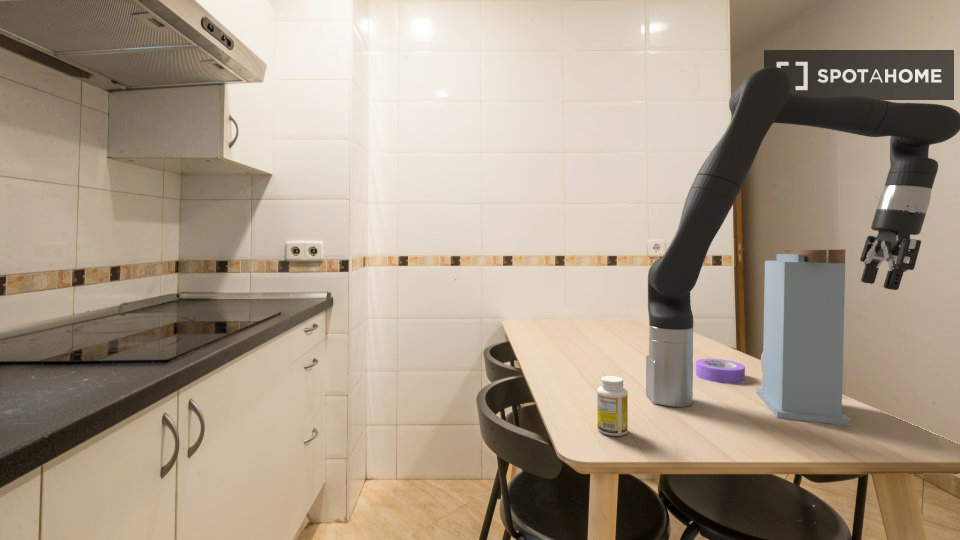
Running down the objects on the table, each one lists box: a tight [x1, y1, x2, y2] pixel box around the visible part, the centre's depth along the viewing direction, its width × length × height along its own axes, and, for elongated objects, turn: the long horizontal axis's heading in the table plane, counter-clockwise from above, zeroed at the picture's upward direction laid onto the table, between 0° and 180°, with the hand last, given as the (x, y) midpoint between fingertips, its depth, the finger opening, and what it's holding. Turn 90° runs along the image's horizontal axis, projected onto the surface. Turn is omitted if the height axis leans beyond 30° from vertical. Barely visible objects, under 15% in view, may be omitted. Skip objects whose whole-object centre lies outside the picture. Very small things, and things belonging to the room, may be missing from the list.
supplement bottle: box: [596, 375, 629, 437], centre depth 81 cm, size 6×6×10 cm
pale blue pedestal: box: [756, 253, 851, 426], centre depth 92 cm, size 12×16×34 cm
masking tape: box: [695, 358, 746, 384], centre depth 116 cm, size 12×12×4 cm
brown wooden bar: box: [783, 249, 846, 264], centre depth 86 cm, size 2×24×2 cm, turn 160°
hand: (878, 286), depth 90 cm, fingers open, 8 cm apart
